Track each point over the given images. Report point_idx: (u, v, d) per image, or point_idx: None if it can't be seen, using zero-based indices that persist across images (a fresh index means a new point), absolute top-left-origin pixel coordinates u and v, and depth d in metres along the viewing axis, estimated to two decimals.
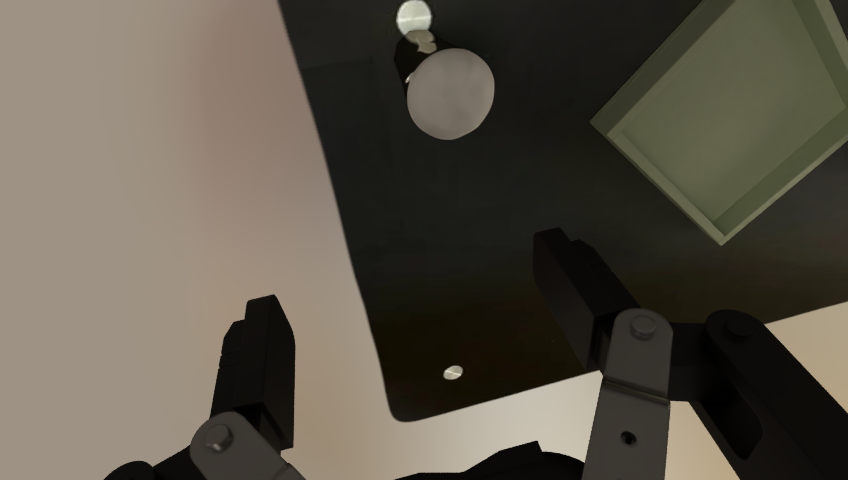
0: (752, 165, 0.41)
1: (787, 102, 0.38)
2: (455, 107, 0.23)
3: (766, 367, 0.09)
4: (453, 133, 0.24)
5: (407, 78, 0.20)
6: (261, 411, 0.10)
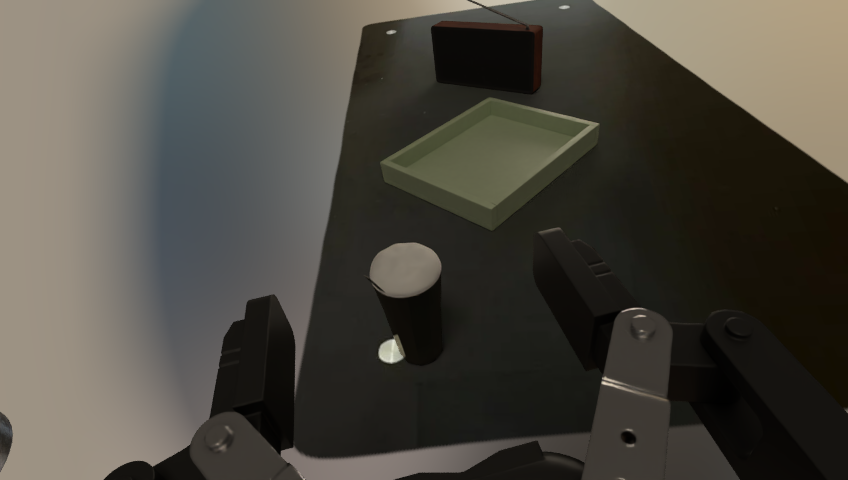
0: (532, 137, 0.55)
1: (484, 138, 0.56)
2: (406, 258, 0.28)
3: (766, 367, 0.09)
4: (430, 259, 0.28)
5: (366, 276, 0.26)
6: (261, 411, 0.10)
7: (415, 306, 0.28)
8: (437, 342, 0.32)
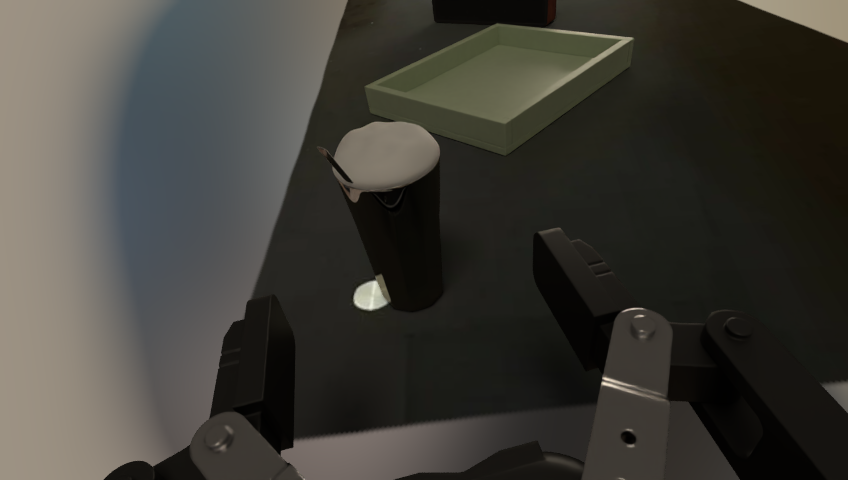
0: (549, 61, 0.46)
1: (492, 65, 0.47)
2: (386, 135, 0.19)
3: (766, 367, 0.09)
4: (422, 137, 0.19)
5: None
6: (261, 411, 0.10)
7: (400, 207, 0.19)
8: (435, 276, 0.23)
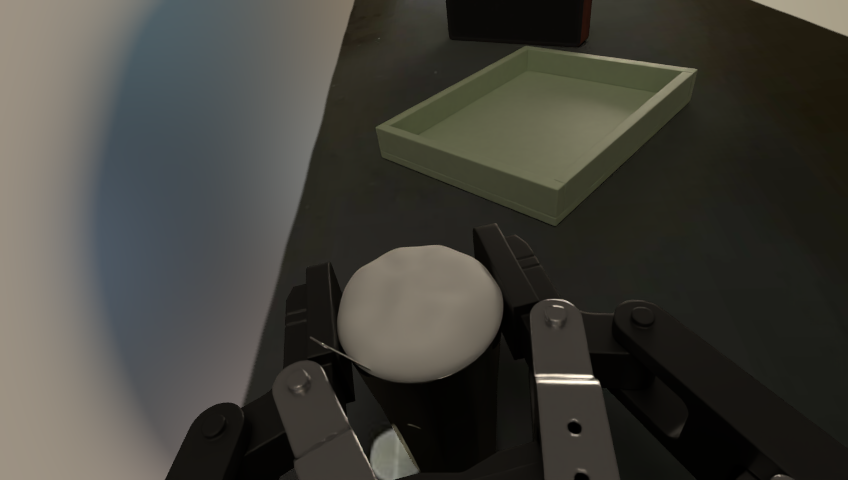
0: (592, 94, 0.39)
1: (523, 98, 0.40)
2: (420, 282, 0.12)
3: (675, 349, 0.10)
4: (478, 285, 0.12)
5: (314, 339, 0.10)
6: (332, 362, 0.11)
7: (446, 398, 0.12)
8: (488, 449, 0.16)
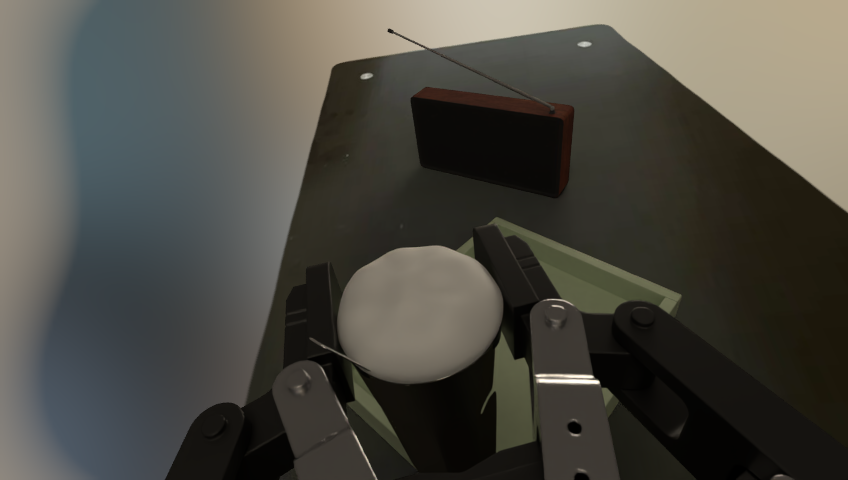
0: (566, 299, 0.35)
1: None
2: (420, 283, 0.12)
3: (675, 349, 0.10)
4: (478, 285, 0.12)
5: (314, 340, 0.10)
6: (331, 363, 0.11)
7: (446, 399, 0.12)
8: (488, 450, 0.16)
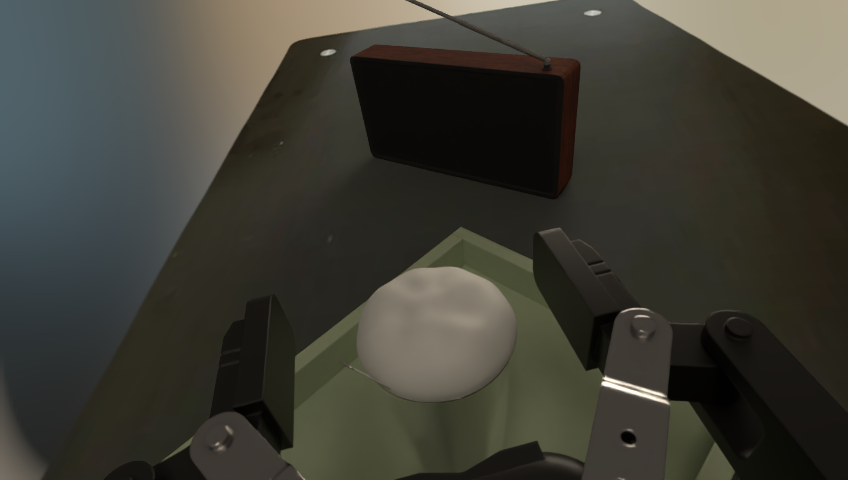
0: (567, 368, 0.21)
1: None
2: (439, 305, 0.12)
3: (766, 367, 0.09)
4: (494, 308, 0.12)
5: (343, 363, 0.10)
6: (261, 411, 0.10)
7: (461, 417, 0.12)
8: None
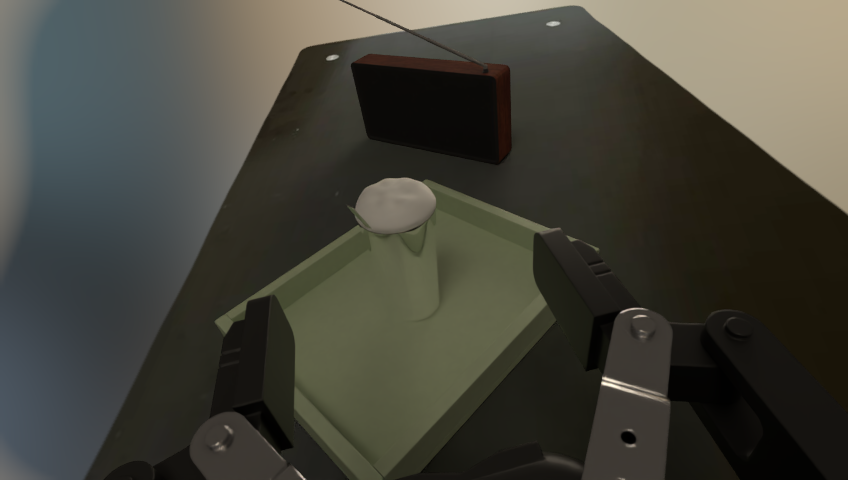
0: (487, 258, 0.33)
1: None
2: (396, 191, 0.25)
3: (766, 367, 0.09)
4: (423, 192, 0.25)
5: (348, 205, 0.23)
6: (261, 411, 0.10)
7: (406, 245, 0.25)
8: (433, 294, 0.29)
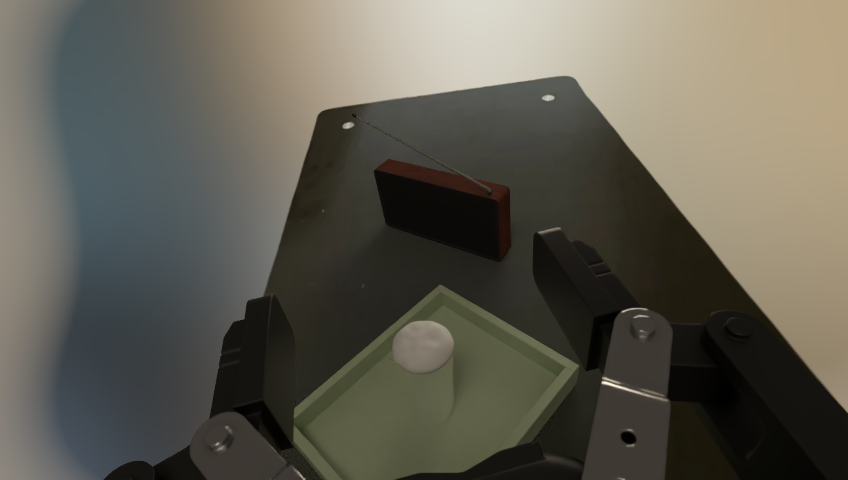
0: (490, 362, 0.41)
1: None
2: (424, 337, 0.33)
3: (766, 367, 0.09)
4: (444, 339, 0.33)
5: (391, 359, 0.31)
6: (261, 411, 0.10)
7: (432, 379, 0.33)
8: (449, 403, 0.37)
